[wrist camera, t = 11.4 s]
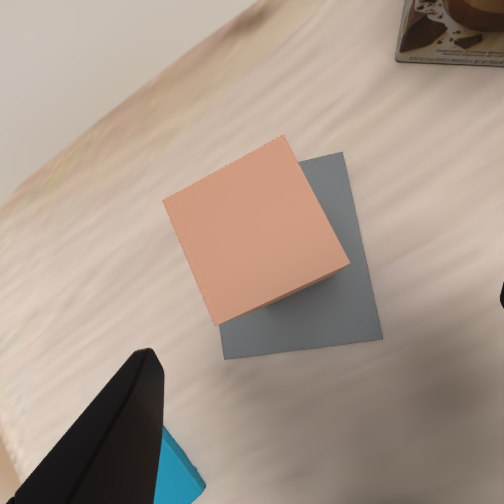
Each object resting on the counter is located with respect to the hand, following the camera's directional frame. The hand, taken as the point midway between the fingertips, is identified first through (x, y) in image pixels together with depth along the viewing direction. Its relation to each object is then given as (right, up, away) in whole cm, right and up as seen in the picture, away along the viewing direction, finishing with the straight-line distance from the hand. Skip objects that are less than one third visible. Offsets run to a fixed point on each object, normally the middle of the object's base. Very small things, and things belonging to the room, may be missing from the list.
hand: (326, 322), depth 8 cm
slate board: (0, +1, +14) cm, 14 cm away
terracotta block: (0, +1, +13) cm, 13 cm away
